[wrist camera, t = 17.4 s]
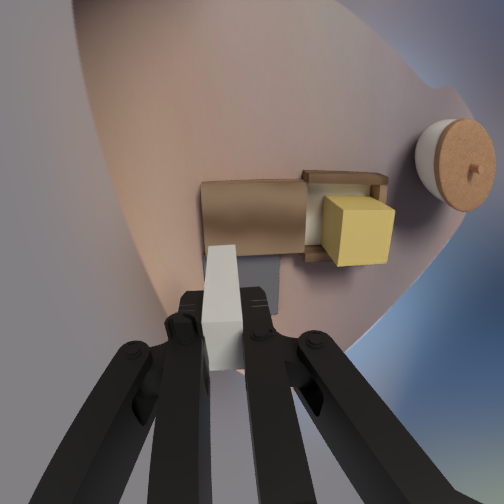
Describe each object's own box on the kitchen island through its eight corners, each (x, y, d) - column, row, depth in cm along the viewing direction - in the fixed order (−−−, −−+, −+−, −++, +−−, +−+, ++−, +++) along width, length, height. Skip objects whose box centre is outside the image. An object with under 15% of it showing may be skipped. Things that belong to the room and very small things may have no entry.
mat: (202, 254, 34) (202, 255, 33) (279, 250, 34) (279, 251, 34) (209, 316, 37) (209, 317, 37) (277, 312, 38) (277, 313, 38)
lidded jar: (465, 173, 32) (510, 190, 23) (416, 208, 34) (461, 234, 25) (442, 104, 28) (492, 107, 19) (387, 135, 29) (436, 143, 21)
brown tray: (201, 172, 30) (199, 176, 28) (378, 173, 31) (388, 177, 29) (207, 257, 34) (206, 267, 32) (369, 249, 35) (377, 257, 33)
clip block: (343, 209, 26) (395, 210, 27) (323, 195, 32) (370, 195, 32) (337, 266, 29) (386, 263, 29) (320, 243, 34) (364, 242, 35)
